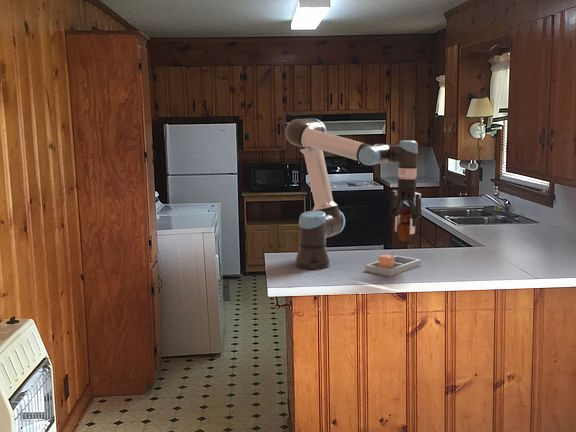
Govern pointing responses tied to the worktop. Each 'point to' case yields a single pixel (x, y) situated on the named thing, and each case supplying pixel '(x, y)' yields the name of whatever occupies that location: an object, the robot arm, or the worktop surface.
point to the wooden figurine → (404, 226)
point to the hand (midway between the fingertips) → (404, 232)
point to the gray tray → (399, 266)
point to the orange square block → (386, 261)
